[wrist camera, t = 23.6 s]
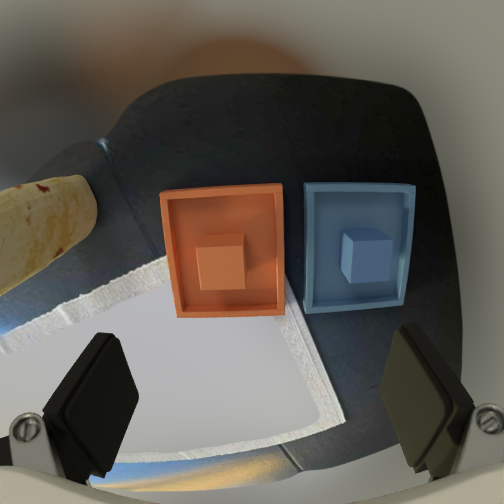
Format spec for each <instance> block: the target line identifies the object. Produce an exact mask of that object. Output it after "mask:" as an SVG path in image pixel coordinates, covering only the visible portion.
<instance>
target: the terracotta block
mask: <svg viewBox="0 0 504 504" xmlns="http://www.w3.org/2000/svg"><path fill="white" fill-rule="evenodd" d="M196 252H197V261H198V270H199V278H200V286H201V290H229V289H246V280H247V262H246V245H245V233H238V234H217V235H204V236H203V237H202V239H201V240H200V242H199V244H198V245H197V247H196Z"/></svg>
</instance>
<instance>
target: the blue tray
mask: <svg viewBox="0 0 504 504" xmlns="http://www.w3.org/2000/svg"><path fill="white" fill-rule="evenodd" d="M415 192H416V186H414V185H410V184H399V183H360V182H313V183H304V296H303V306H304V310H305V313H306V314H310V313H324V312H337V311H349V310H360V309H370V308H380V307H389V306H398V305H403V302H404V296H405V290H406V284H407V278H408V271H409V263H410V255H411V246H412V236H413V225H414V211H415ZM347 229H379V230H380V231H381V232H383V233H384V234H386V235H387V236H389V237H390V238H392V239H393V250H392V260H391V269H390V277H389V281H378V282H365V283H351V284H350V283H349V281H348V280H347V278H346V277H345V275H344V274H343V273H342V271H341V270H340V268H339V260H340V237H341V230H347Z"/></svg>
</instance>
